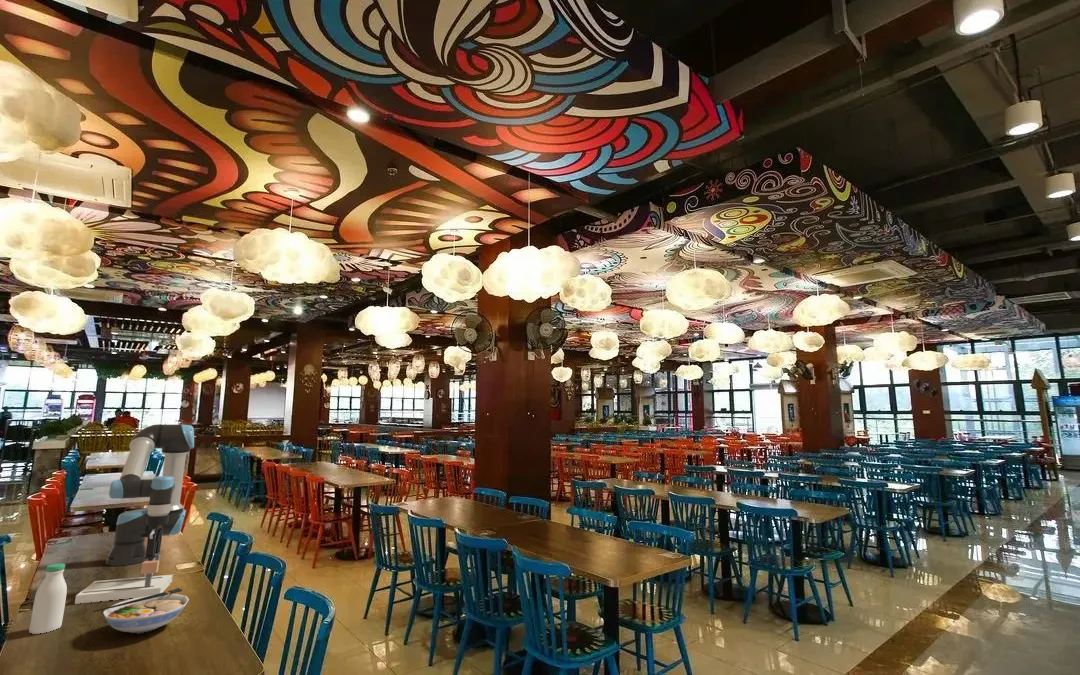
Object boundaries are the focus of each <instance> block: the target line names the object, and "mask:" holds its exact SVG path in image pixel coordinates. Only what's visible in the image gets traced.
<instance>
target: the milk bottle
mask: <svg viewBox="0 0 1080 675" xmlns="http://www.w3.org/2000/svg"><path fill="white" fill-rule="evenodd" d="M65 569H66V563H63V562H61V563H53V564H49V565H47V566H46V568H45V572H44V573H45V575H44V576H45V577H44V579H43V581H42V582H41V584H40V585H39V586H38V588H37V590H36V592H35V596H34V599H33V606H32V612H31V617H30V623H29V628H28V632H29V634H31V633H32V635H41V634H46V632H47V633H50V631H51V632H54V631H57V630H59V629H60V628H61V627H62V624H63V621H64V620H63V618H64V612H65V607H66V606H65V605H66V599H67V592H68V587H67V583H66V580H65V577H64V571H65ZM58 628H59V629H58ZM56 629H57V630H56ZM53 630H54V631H53ZM40 633H41V634H40Z"/></svg>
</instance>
